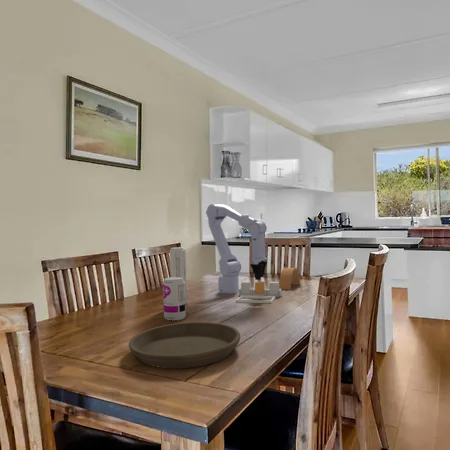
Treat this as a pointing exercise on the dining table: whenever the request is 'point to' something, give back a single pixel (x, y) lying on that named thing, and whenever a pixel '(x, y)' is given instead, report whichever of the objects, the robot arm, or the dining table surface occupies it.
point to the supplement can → (174, 298)
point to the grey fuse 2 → (273, 287)
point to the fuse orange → (259, 287)
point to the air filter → (178, 265)
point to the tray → (256, 300)
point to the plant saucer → (185, 344)
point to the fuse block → (266, 293)
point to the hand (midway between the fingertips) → (259, 278)
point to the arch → (289, 278)
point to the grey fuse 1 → (245, 287)
